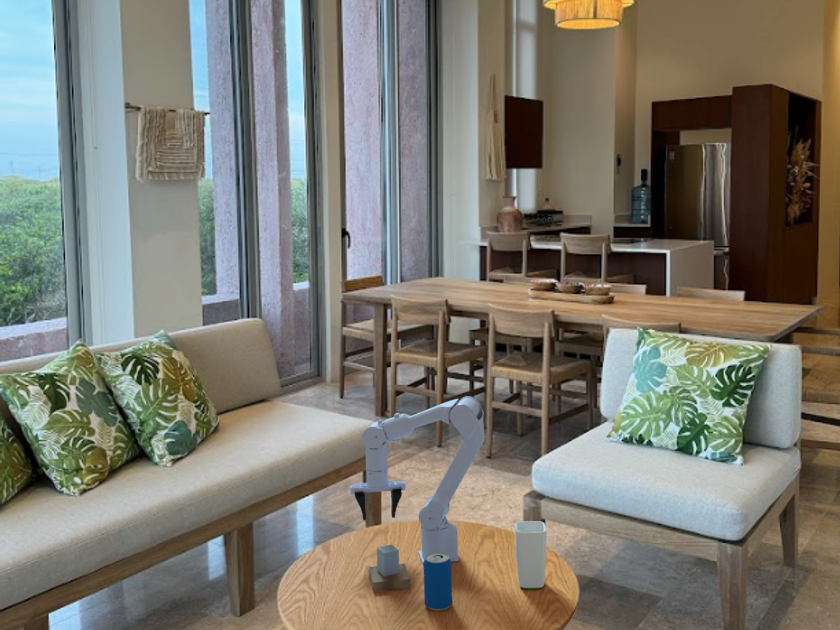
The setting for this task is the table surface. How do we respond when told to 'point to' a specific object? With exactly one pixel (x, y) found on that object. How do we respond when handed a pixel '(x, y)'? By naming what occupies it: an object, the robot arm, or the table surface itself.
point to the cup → (530, 553)
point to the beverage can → (437, 581)
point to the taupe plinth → (389, 580)
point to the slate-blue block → (387, 560)
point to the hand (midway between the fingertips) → (378, 517)
